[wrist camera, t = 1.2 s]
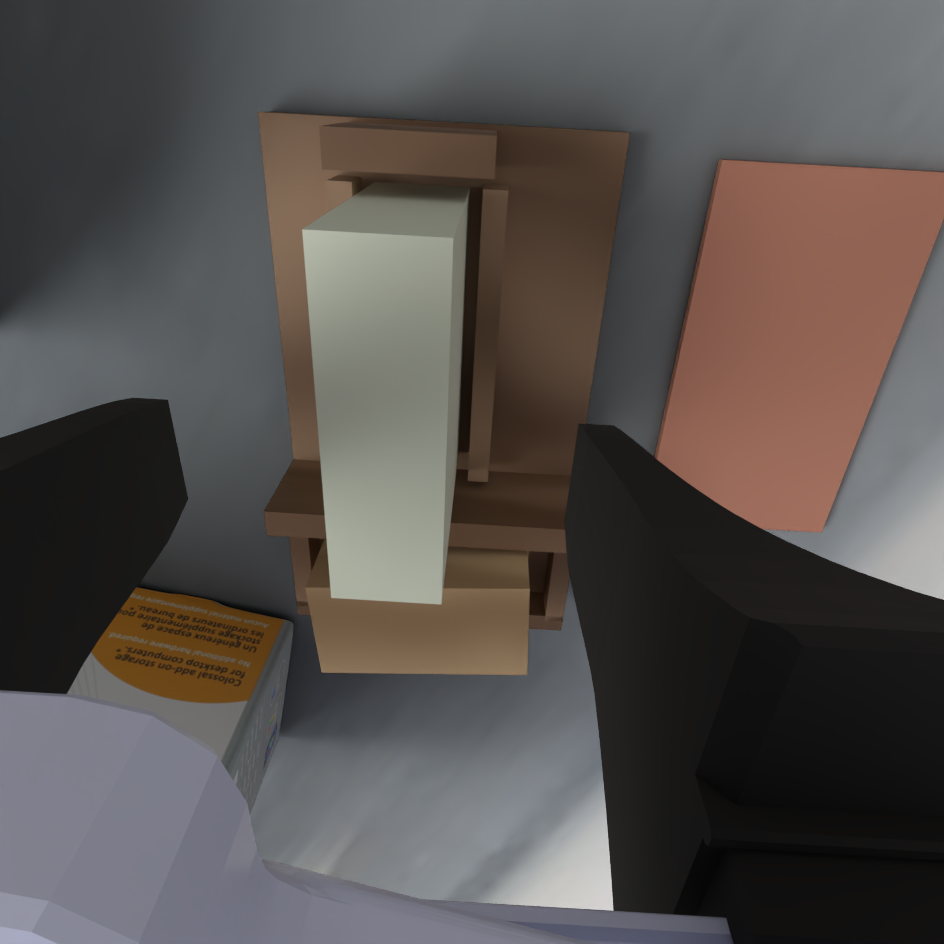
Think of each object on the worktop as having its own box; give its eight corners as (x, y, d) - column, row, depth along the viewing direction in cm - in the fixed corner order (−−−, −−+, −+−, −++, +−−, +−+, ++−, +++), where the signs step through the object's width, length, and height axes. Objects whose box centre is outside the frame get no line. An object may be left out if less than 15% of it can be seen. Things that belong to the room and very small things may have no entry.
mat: (817, 527, 22) (821, 532, 22) (641, 516, 22) (643, 521, 22) (954, 172, 16) (961, 173, 16) (718, 159, 16) (722, 160, 16)
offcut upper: (524, 621, 21) (527, 675, 19) (337, 620, 21) (321, 672, 19) (526, 539, 19) (529, 588, 17) (324, 539, 19) (305, 587, 17)
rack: (556, 591, 24) (565, 670, 20) (312, 576, 24) (282, 653, 20) (624, 132, 16) (656, 139, 13) (268, 111, 16) (209, 114, 13)
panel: (458, 452, 20) (441, 604, 14) (381, 447, 20) (331, 597, 14) (470, 187, 16) (453, 237, 10) (374, 181, 16) (302, 229, 10)
